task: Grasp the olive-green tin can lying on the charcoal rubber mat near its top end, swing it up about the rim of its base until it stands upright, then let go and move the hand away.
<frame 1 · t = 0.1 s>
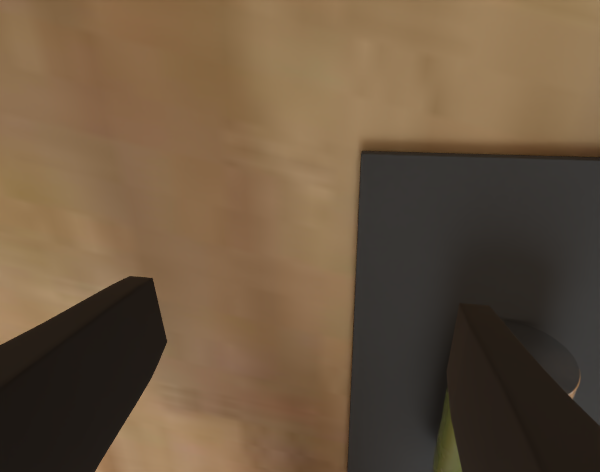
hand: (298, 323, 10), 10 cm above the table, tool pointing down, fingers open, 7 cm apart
can: (493, 433, 21), point 3 cm above the table, hinge at 90.1°
mat: (488, 360, 22), on the table
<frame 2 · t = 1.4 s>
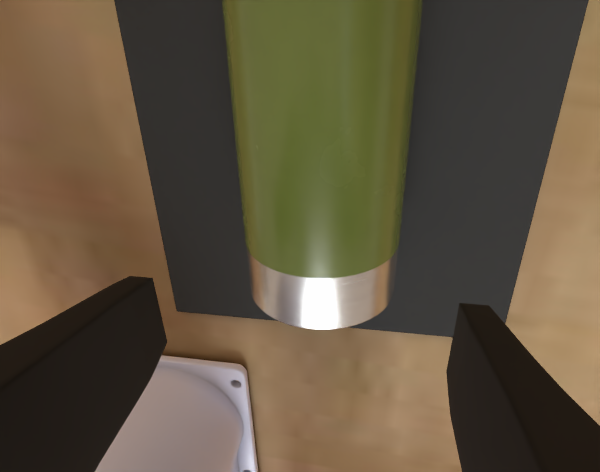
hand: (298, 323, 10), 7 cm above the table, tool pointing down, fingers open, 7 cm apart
can: (321, 134, 12), point 3 cm above the table, hinge at 90.1°
mat: (332, 48, 14), on the table
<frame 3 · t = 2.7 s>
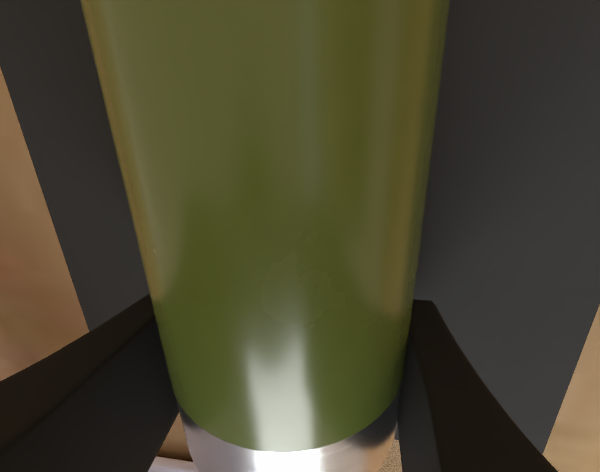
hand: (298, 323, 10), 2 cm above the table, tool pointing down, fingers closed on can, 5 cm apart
can: (280, 208, 8), point 3 cm above the table, hinge at 90.1°, touching gripper
mat: (304, 66, 9), on the table
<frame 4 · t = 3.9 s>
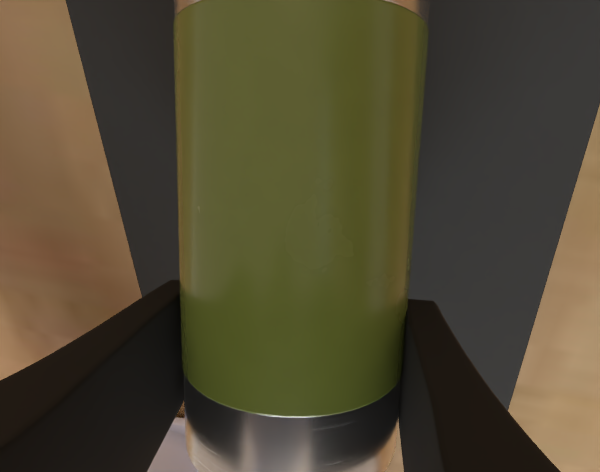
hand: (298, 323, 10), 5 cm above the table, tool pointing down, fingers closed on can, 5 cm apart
can: (296, 210, 9), point 4 cm above the table, hinge at 71.4°, touching gripper
mat: (322, 114, 12), on the table
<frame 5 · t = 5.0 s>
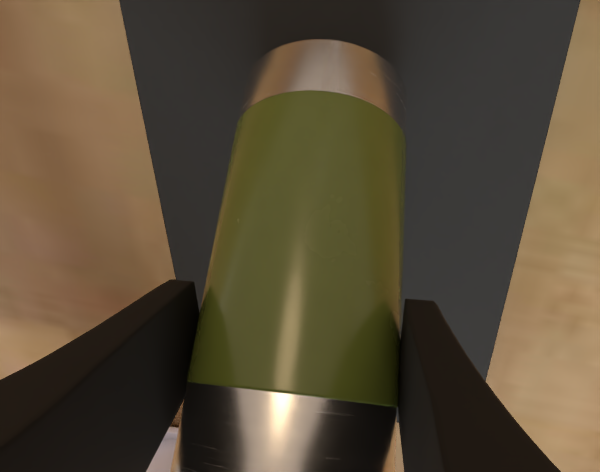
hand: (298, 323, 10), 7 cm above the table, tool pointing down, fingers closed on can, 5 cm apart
can: (306, 261, 11), point 6 cm above the table, hinge at 40.0°, touching gripper
mat: (331, 217, 17), on the table
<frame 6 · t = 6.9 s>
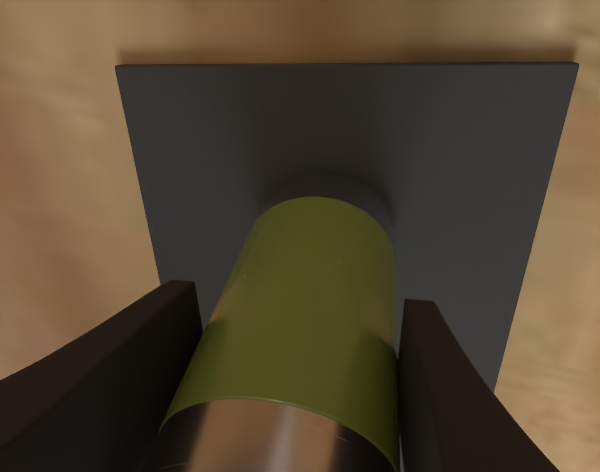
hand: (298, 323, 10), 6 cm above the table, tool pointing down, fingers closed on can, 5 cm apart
can: (301, 344, 11), point 6 cm above the table, hinge at 7.2°, touching gripper
mat: (326, 338, 18), on the table
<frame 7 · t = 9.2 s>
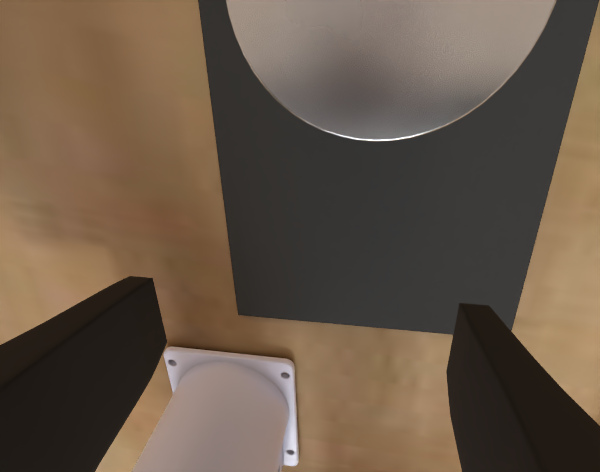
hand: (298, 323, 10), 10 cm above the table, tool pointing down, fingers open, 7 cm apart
mat: (378, 111, 18), on the table
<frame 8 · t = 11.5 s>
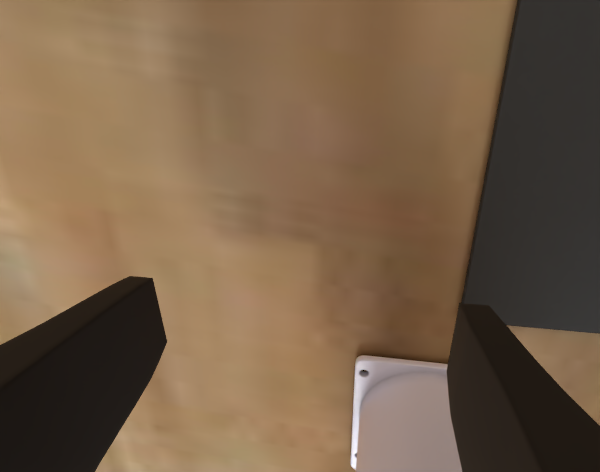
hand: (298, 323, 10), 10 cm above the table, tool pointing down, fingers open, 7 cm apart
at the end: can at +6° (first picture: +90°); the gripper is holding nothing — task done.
